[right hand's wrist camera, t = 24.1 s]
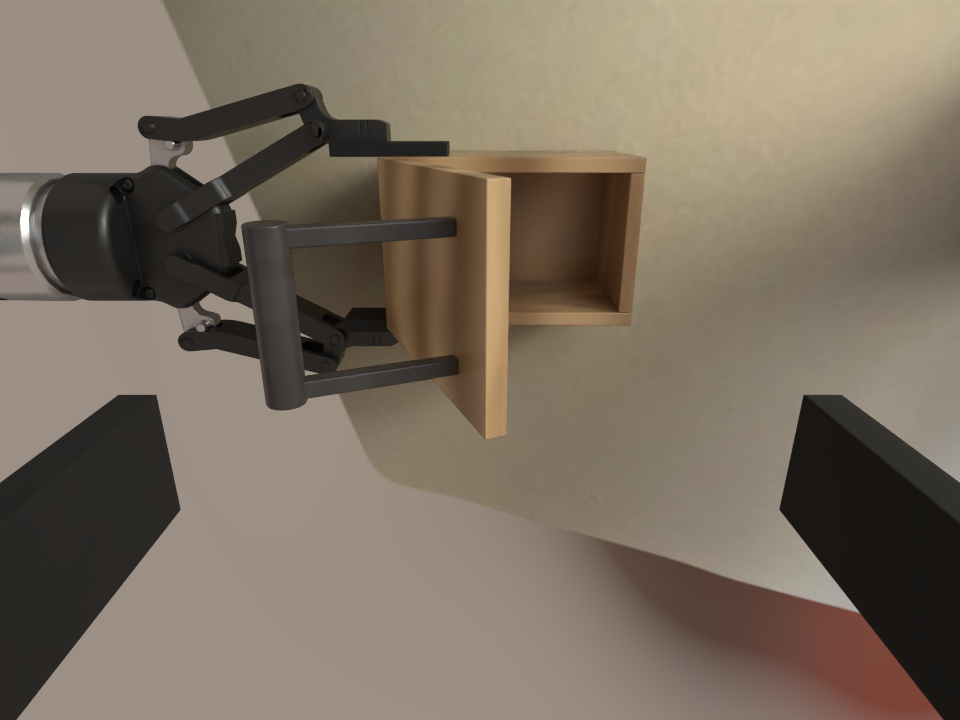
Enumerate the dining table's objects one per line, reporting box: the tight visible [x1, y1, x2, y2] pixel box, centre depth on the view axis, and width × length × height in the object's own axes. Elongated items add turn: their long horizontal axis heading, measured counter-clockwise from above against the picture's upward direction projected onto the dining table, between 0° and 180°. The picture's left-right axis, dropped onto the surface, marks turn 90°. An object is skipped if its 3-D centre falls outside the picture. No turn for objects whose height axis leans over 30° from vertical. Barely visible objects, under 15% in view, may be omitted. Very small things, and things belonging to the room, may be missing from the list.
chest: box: [390, 151, 646, 326], centre depth 38 cm, size 14×10×9 cm
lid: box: [241, 157, 511, 440], centre depth 26 cm, size 15×10×8 cm
